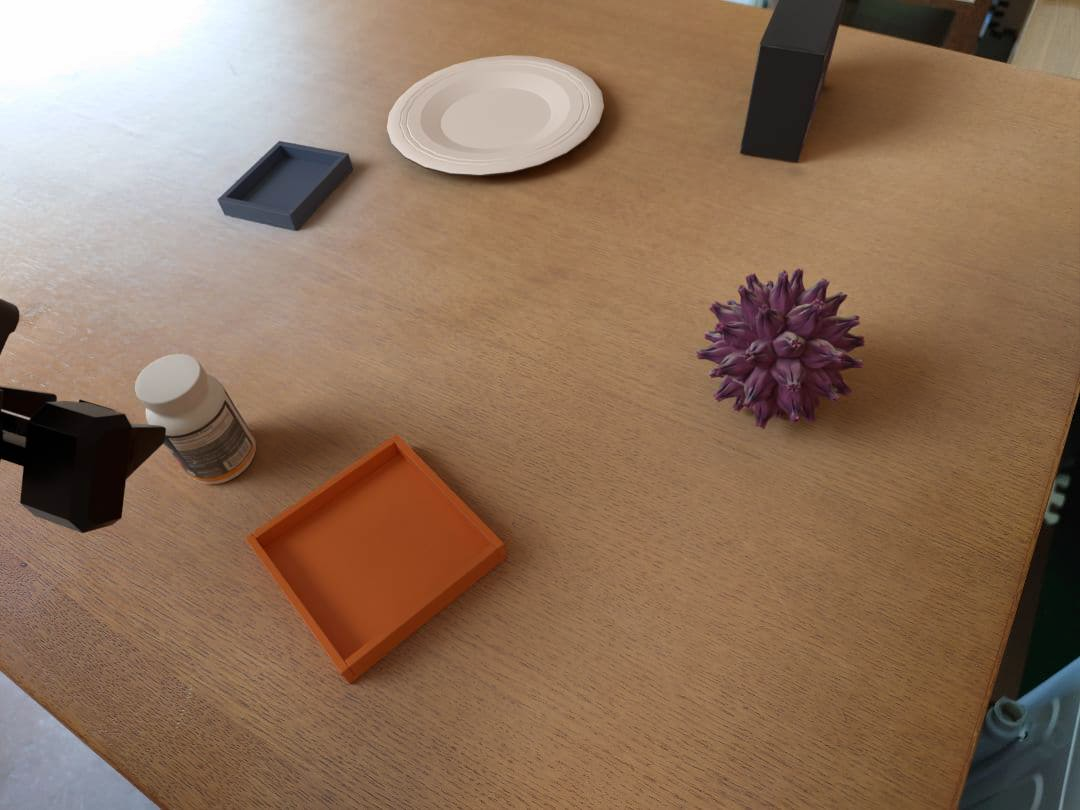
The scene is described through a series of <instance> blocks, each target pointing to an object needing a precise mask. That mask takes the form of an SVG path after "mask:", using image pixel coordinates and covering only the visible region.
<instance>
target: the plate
mask: <svg viewBox="0 0 1080 810" xmlns="http://www.w3.org/2000/svg"><path fill="white" fill-rule="evenodd" d="M604 109H605V103H604V99H603V93H602V90H601V89H600V87H599V86H598V84H596V82H595V81H594V79H593V78H592V77H590V75H588V74H586V73H585V72H584V71H582V70H580V69H579V68H577V67H575V66H573V65H570V64H567V63H564V62H561V61H559V60H556V59H552V58H546V57H539V56H534V55H513V54H512V55H510V54H508V55H500V56H499V55H496V56H488V57H479V58H475V59H470V60H468V61H467V60H466V61H463V62H459V63H456V64H452V65H449V66H448V67H447V66H446V67H444V68H443V69H439V70H437V71H434V72H432V73H431V74H429V75H427V76H426V77H424V78H422V79H420V80H418V81H417V82H415V83H413V84H412V85H411V86H410V87H409V88H408V89H407V90H406V91H405V92H404V93H403V94H402V95H400V96H399V97H397V100H396V101H395V103H394V105H393V106H392V108H391V110H390V111H389V113H388V118H387V125H386V131H387V133H388V136H389V140H390V142H391V145H392V146H393V147H394V148H395V149H396V151H398V152H399V154H400V155H402V156H403V157H404V159H405V160H406V159H407V160H408V161H410V162H412V163H414V164H416V165H418V166H420V167H422V168H423V169H426V170H430V171H436V172H439V173H443V174H447V175H451V176H452V175H453V176H466V177H467V176H469V177H470V176H471V177H488V176H498V175H499V176H500V175H509V174H514V173H517V172H521V171H525V170H530V169H533V168H537V167H541V166H543V165H545V164H547V163H548V164H549V163H550V162H552V161H554V160H556V159H559V158H561V157H563V156H565V155H568V154H569V153H570V152H572V151H573V150H574V149H576V148H577V147H579V146H580V145H581V144H582V143H584V142H585V141H587V140H588V138H589V137H590V136H591V135H592V134H593V132H595V130H596V129H597V128H598V126H599V125H600V123H601V119H602V117H603V113H604Z"/></svg>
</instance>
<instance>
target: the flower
mask: <svg viewBox="0 0 1080 810" xmlns="http://www.w3.org/2000/svg"><path fill="white" fill-rule="evenodd" d="M744 277H745V278H744V279H745V281H746V286H745V285H743V284H740V285H739V286H738V289H737V292H738V294H739V296H740V302H737V301H735V300H734V299H730V300H729V299H728V300H727V301H726V303H721V302H719V301H717V300H713V301H712V303H711V304H710V306H709V307H708V310H709V311H710V312H711V313H713V314H714V315H715V318H716V319H717V320H718V322H717V323H716V325H715V326H714V330H706V331H705V332H704V337H703V338H704V339H705V340H708V341H710V342H712V344H711V345H708V346H707V347H705V348H700V349H697V350H696V354H697V355H696V358H697V359H698V360H707V361H710V362H713V363H715V364H716V365H717V366H715V367H713V368H712V370H710V371H708V376H709V378H710V379H714V378H721V381H720V384H719V387H718V389H717V390H716V391H715V392H714V393H713V395H712V397H713V398H714V400H716V401H717V403H721V402H723V401H724V400H725V399H732V398H735V400H734V403H733V404H732V408H733V411H737V413H738V412H740V411H741V410H742V409H743V408H745V409H749V410H753V413H754V415H755V427H759V428H761V429H762V430H765V428H766V427H767V424H768V422H769V420H770V419H772V418H773V416H775V418H776V419H779V420H782V419H784V418H786V414H787V415H788V418H789V420H790V422H791V423H796V424H797V423H798V422H801V421H802V418H801V416H802V417H803V418H804V420H805V421H806V423H807V424H811V423H812V424H815V423H816V422H817V417H816V414H815V408H817V407H820V405H821V401H820V399H819V397H820V398H824V399H828V400H829V401H830V402H832V403H833V404H836V402H838V400H839V399H841V398H840V396H839V395H841V396H844V397H848V396H849V394H851V393H852V392H853V389H852V388H851V387H850V386H849V385H848V384H847V383H846V382H845V379H844V376H843V374H842V373H841V372H842V371H843V372H844V371H847V370H849V369H860V370H861V369H864V366H863V365H864V360H863V359H859V358H856V357H854V356H852V355H850V352H852V351H853V350H854V349H856V348H857V349H858V348H862V347H863V348H864V347H865V342H866V341H865V336H863V335H855V334H853V333H851V332H849V331H851V330H852V329H853V328H855V327H857V326H859V325H860V324H861V322H860V318H861V317H860V315H857V314H856V315H852V316H848V317H842V316H838V315H837V314H838V311H839V308H840V306H841V305H842V304H843V302H845V301H846V299H847V297H848V296H849V295H848V294H846V293H843V291H838V292H836V293H835V294H834V295H831V296H827V289H828V287H829V285H830V284H831V283H830V282H831V281H830V280H827V278H824V277H821V278H820V279H819V280H818V281H817V283H816V284H814V285H813V286H811V287H809V288H808V289H807V288H805V286H804V279H803V278H804V268H802V269H801V268H796V269H794V270H793V272H792V275H791V276H790V278H789V273H788V272H787V270H786V269H784V270H782V271H781V272H778V275H777V282H775V284H774V281H773V280H771V279H768V280H765V281H764V283H763V282H761V281H760V279H759V278H758V277H757V275H756V273H755V272H752V273H749V274H746V276H744Z"/></svg>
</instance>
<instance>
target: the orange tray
mask: <svg viewBox="0 0 1080 810" xmlns="http://www.w3.org/2000/svg"><path fill="white" fill-rule="evenodd" d="M244 540H245V541H246V543H247V544H248V545H249V547H250V549H251V550H252V551H253V552H254V554H255V555H256V557H257V558H258V559H259V561H260V562H261V564H262V566H263V567H264V568H265V569H266V571H267V572H268V573H269V576H271V578H272V579H273V581H274V583H276V585H277V586H278V587H279V589H280V591H281V592H282V594H283V595H284V596H285V597H286V599H287V600H288V601H289V603H290V605H291V606H292V607H293V609H294V610H295V611H296V613H297V615H298V616H299V617H300V618H301V620H302V621H303V623H304V624H305V625H306V627H307V628H308V629H309V631H310V632H311V634H312V635H313V637H314V638H315V640H316V641H317V643H318V644H319V645H320V647H321V648H322V649H323V651H324V652H325V654H326V655H327V656H328V658H329V660H330V661H331V662H332V663H333V665H334V667H336V669H337V670H338V672H339V673H340V675H341V676H342V677H343V678H344V680H345V681H346V682H347V684H349V685H351V684H352V683H354V682H355V681H356V680H357V679H358V678H360V677H362V675H364V674H365V673H366V672H367V671H368V670H370V669H371V668H372V667H373V666H375V665H376V664H377V663H378V662H380V661H381V660H382V659H383V658H385V657H386V656H387V655H388V654H390V653H391V652H393V650H394V649H396V648H397V647H398V646H399V645H401V644H402V643H403V642H404V641H405V640H407V639H408V638H410V637H411V636H412V635H413V634H415V633H416V631H418V630H419V629H420V628H422V627H423V626H424V625H425V624H426V623H428V622H429V621H430V620H431V619H433V618H434V617H435V616H436V615H438V614H439V613H440V612H442V610H444V609H445V608H446V607H448V606H449V605H450V604H451V603H453V602H454V601H455V600H456V599H457V598H459V597H460V596H461V595H462V594H464V593H465V592H466V591H468V589H470V588H471V587H473V586H474V585H475V584H476V583H478V581H480V580H481V579H482V578H483V577H485V576H486V575H487V574H488V573H490V572H491V571H492V570H493V569H495V568H496V567H497V566H499V565H500V564H501V563H502V562H503V561H504V560H507V558H508V555H507V551H506V547H505V543H504V542H503V541H502V540H501V539H500V538H499V536H497V535H496V533H495V532H493V531H492V529H490V528H489V526H488V525H487V524H486V523H485V522H484V521H483V520H482V519H481V518H480V517H479V516H478V515H477V514H476V513H475V512H474V511H473V510H472V509H471V508H470V507H469V506H468V505H467V504H466V503H465V502H464V501H463V499H461V498H460V497H459V496H458V495H457V493H455V492H454V491H453V489H451V488H450V487H449V486H448V484H447V483H446V482H444V480H443V479H442V478H440V476H439V475H438V474H437V473H436V472H435V471H434V470H433V469H432V468H431V467H430V466H429V465H428V464H427V463H426V462H425V461H424V460H423V459H422V458H421V457H420V455H418V454H417V453H416V452H415V451H414V449H412V448H411V447H410V446H409V444H408V443H406V442H405V441H404V439H403V438H401V436H400V435H399V434H398V433H395V434H394V435H392V436H391V437H390V438H388V439H386V441H384V442H383V443H381V444H379V445H378V446H377V447H375V448H374V449H372V450H370V452H368V453H366V454H365V455H364V456H362V457H361V458H359V459H358V460H356V461H355V462H354V463H352V464H351V465H349V466H348V467H346V468H345V469H343V470H342V471H340V472H338V473H337V474H336V475H334V476H333V477H331V478H330V479H328V480H327V481H326V482H324V483H323V484H322V485H320V486H318V487H317V488H316V489H314V490H313V491H311V492H310V493H308V494H307V495H306V496H304V497H302V498H301V499H300V500H298V501H297V502H294V504H292V505H291V506H289V507H288V508H286V509H285V510H284V511H282V512H281V513H279V514H278V515H277V516H275V517H274V518H272V519H270V520H269V521H268V522H266V523H265V524H263V525H262V526H261V527H258V529H255V530H254V531H253V532H252V533H250V534H248V535H247V536H245V537H244Z"/></svg>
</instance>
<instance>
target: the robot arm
mask: <svg viewBox="0 0 1080 810" xmlns="http://www.w3.org/2000/svg"><path fill="white" fill-rule="evenodd" d="M20 315H21V313H20V310H19V308H18V306H17V305H15V304H14V303H13V302H10V301H7V300H6V299H3V298H0V356H1V354H2V352H3V351H4V348H5V346H6V344H7V341H8V339H9V336H10V335H11V334H12V333H14V332H15V331H16V330H17V327H18V325H19V323H20ZM165 434H166V428H165V427H163V426H158V425H149V424H148V423H147V424H146V423H131V422H130V421H129V418H128V417H127V415H126V413H123V412H121V411H117V410H115V409H114V408H111V407H107V406H103V405H100V404H98V403H94V402H90V401H87V400H84V399H79V400H78V401H69V400H59V401H58V395H57V394H55V393H52V392H46V391H41V390H35V389H34V390H33V389H27V388H23V387H22V388H21V387H15V386H8V385H2V384H0V462H1V460H3V461H6V462H7V463H11V464H15V465H17V466H20V467H22V478H21V488H20V499H19V504H20V505H21V506H23V507H24V508H25V509H26V510H27V511H28V512H30V513H31V514H32V515H33V516H34V517H37V518H40V519H42V520H45V521H47V522H50V523H53V524H56V525H59V526H61V527H65V528H67V529H70V530H73V531H75V532H77V533H81V534H86V533H89V532H93V531H96V530H100V529H104V528H107V527H110V526H113V525H115V524H117V522H118V521H120V520H121V519H122V518H123V509H124V500H125V491H126V481H127V480H128V478H129V477H131V476H132V475H133V473H135V471H137V469H138V468H140V467H141V466H142V465H143V464H144V463H145V462H147V460H148V459H150V457H151V456H153V454H154V453H156V451H158V450H159V449H160V448H161V447H162V446H164V444H163V443H164V441H165Z"/></svg>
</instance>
